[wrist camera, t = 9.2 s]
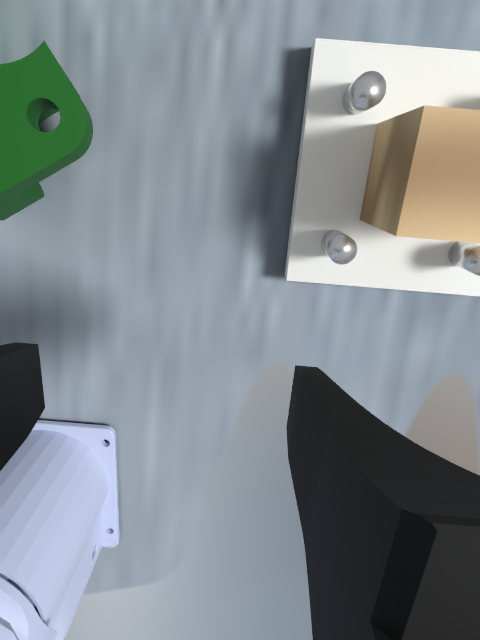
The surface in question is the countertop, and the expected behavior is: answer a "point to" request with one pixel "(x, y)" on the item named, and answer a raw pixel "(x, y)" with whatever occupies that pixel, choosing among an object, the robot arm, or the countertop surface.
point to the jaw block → (426, 175)
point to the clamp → (37, 127)
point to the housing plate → (353, 164)
